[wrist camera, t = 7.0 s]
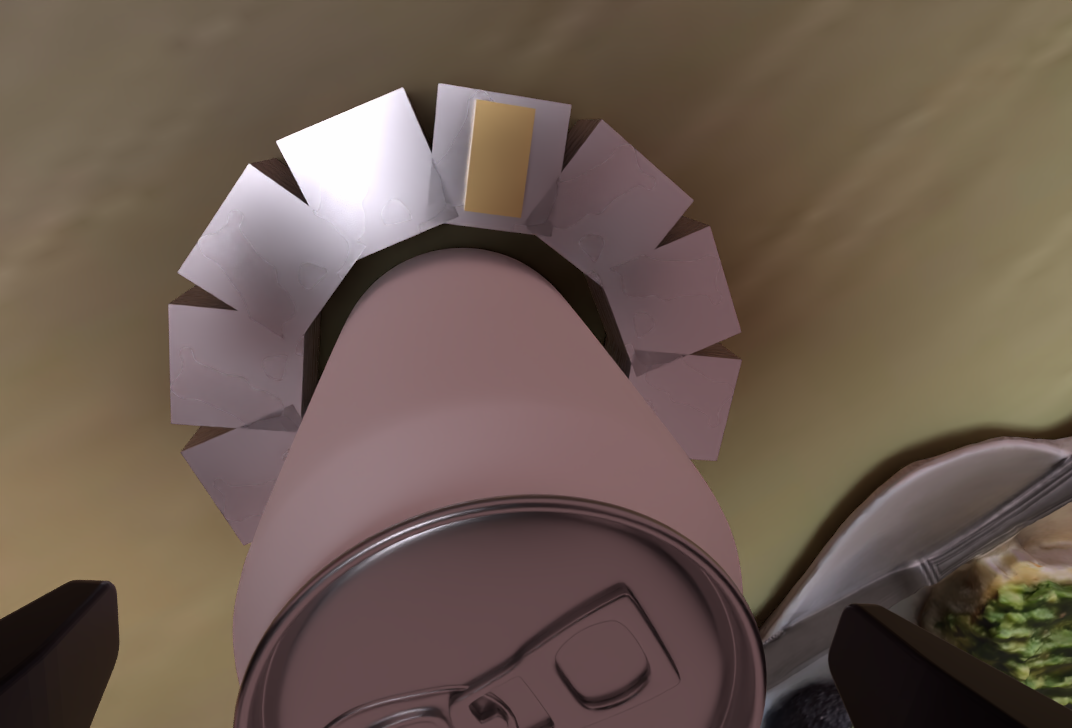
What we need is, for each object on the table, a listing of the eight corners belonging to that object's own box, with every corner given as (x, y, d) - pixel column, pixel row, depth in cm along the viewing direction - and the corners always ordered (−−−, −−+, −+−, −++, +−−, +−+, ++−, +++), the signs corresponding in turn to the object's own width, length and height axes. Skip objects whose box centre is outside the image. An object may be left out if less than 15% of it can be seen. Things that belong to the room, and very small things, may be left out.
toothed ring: (648, 571, 22) (679, 633, 19) (206, 555, 19) (171, 623, 17) (747, 138, 18) (803, 141, 15) (204, 51, 15) (156, 35, 13)
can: (287, 322, 17) (28, 681, 6) (510, 196, 17) (663, 329, 6) (421, 510, 20) (410, 1023, 8) (619, 401, 19) (879, 777, 8)
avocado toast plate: (961, 258, 20) (1107, 295, 16) (1288, 497, 25) (1466, 575, 21) (607, 737, 24) (646, 870, 20) (950, 858, 29) (1040, 985, 25)
